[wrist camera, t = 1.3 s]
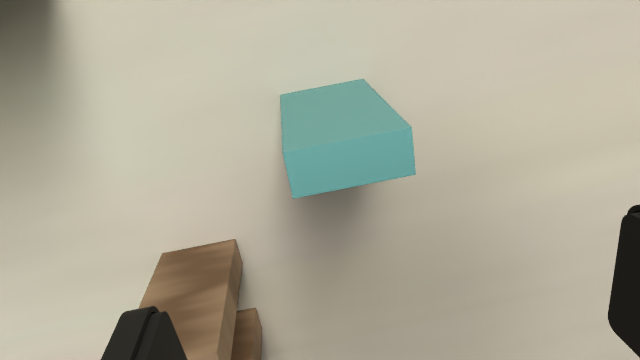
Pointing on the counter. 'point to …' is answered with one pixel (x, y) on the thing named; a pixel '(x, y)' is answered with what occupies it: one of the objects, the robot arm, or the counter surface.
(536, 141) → the counter surface
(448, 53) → the counter surface
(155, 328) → the robot arm
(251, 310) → the domino
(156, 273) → the domino
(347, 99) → the domino
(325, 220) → the counter surface
